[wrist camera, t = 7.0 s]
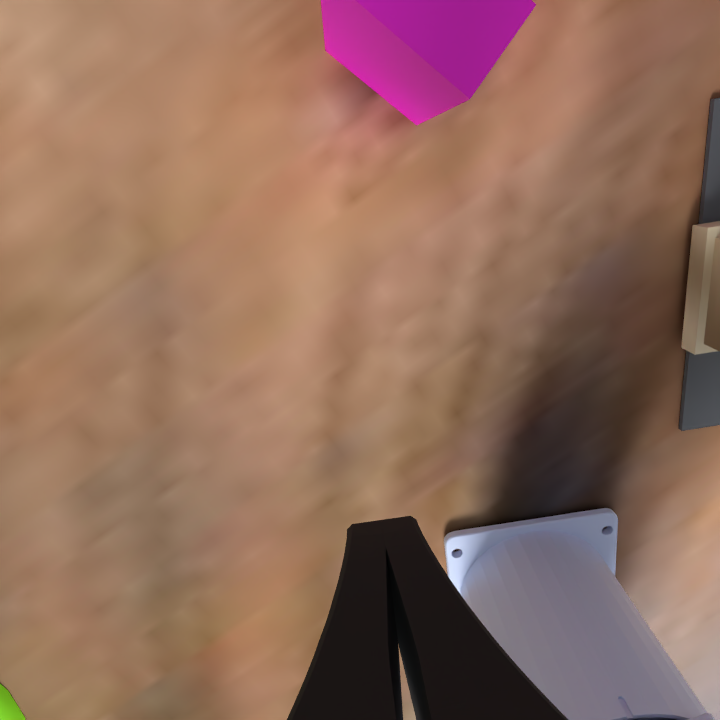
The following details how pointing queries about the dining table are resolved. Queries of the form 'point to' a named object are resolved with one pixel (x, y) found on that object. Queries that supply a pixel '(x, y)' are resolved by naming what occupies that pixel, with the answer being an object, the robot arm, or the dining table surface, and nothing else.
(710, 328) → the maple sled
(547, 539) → the robot arm
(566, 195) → the dining table surface
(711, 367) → the dark grey panel
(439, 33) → the toy block
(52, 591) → the dining table surface
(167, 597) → the dining table surface
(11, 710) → the wineglass
